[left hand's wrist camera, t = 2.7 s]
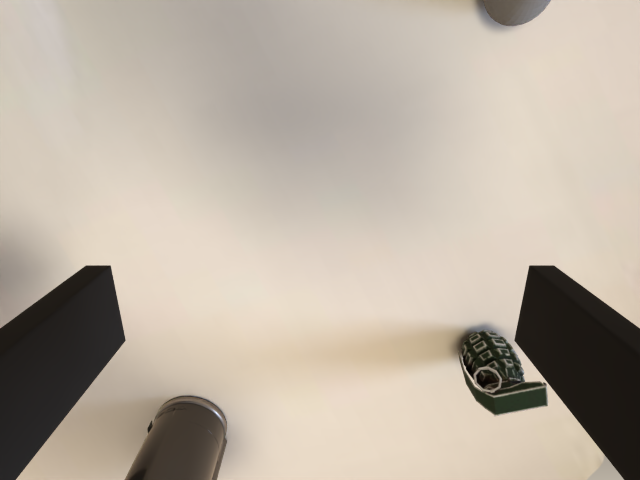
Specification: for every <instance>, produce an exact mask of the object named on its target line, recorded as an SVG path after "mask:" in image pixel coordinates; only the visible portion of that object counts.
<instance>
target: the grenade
mask: <svg viewBox="0 0 640 480" xmlns="http://www.w3.org/2000/svg"><path fill="white" fill-rule="evenodd" d="M458 353H459V351H458ZM462 356H463V362H464V365H465V366H466V370H467V371H468V373H469V374H470V376H471V377H472V378H473V380H474V381H475V384H476V385H477V386H478V387H479V388H480V389H481V390H482V391H481V390H480V389H478V388H477V387H475V386H474V385H473V383H472V381H471V380H470V378H469V376H468V375H467V373H466V372H465V370H464V367H463V364H462V360H461V357H460V354H459V359H460V363H461V367H462V370H463V374H464V377H465V381H466V384H467V386H468V388H469V389H470V391H471V393H472V394H473V396H474V398H475V399H476V401H477V402H478V403H479V404H480V405H482V406H483V407H484V408H485V409H487V410H488V411H489V412H491V413H492V414H494V416H499V415H504V414H509V413H514V412H519V411H525V410H530V409H535V408H540V407H545V406H548V397H547V384H546V383H544V382H543V383H542V382H525V379H524V376H523V375H524V371H523V368H522V367H521V362H520V360H519V358H518V355H517V354H516V352H515V351H514V349H513V348H512V346H511V345H510V344H509V343H508V342H507V340H506V339H504V338H503V337H500V336H499V335H498V334H496V333H493V332H492V331H487V330H483V331H481V332H479V333H477V332H475V333H473V334H471V335H470V336H469V339H467V340H466V341H464V343H463V346H462Z"/></svg>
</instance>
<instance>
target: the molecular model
mask: <svg viewBox="0 0 640 480" xmlns="http://www.w3.org/2000/svg"><path fill="white" fill-rule="evenodd" d="M550 1H551V0H484V4H485V8H486V10H487V12H488V14H489V15H490V17H491V18H492V19H494V20H495V21H496V22H498V23H500V24H503V25H507V26H516V25H521V24H524V23H527V22H529V21H531V20H532V19H534V18H535V17H537V16H538V15H539V14H540V13H541V12H542V11H543V10H544V9H545V8H546V6H547V5H548V4H549V2H550Z"/></svg>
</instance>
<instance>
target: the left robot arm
mask: <svg viewBox="0 0 640 480" xmlns="http://www.w3.org/2000/svg"><path fill="white" fill-rule="evenodd" d="M124 342H125V336H124V330H123V325H122V320H121V315H120V310H119V305H118V300H117V295H116V290H115V285H114V280H113V275H112V270H111V266H85V267H84V268H82V269H81V270H79V271H78V272H77V273H75V274H74V275H73V276H71V277H70V278H69V279H67V280H66V281H64V282H63V283H62V284H60V285H59V286H58V287H56V288H55V289H54V290H52V291H51V292H49V293H48V294H47V295H45V296H44V297H43V298H41V299H40V300H39V301H37V302H36V303H34V304H33V305H32V306H30V307H29V308H28V309H26V310H25V311H24V312H22V313H21V314H19V315H18V316H17V317H15V318H14V319H13V320H11V321H10V322H9V323H7V324H6V325H4V326H3V327H2V328H0V480H16V479H17V477H18V476H19V475H20V473H21V472H22V471H23V470H24V468H25V467H26V466H27V465H28V463H29V462H30V461H31V460H32V458H33V457H34V456H35V454H36V453H37V452H38V451H39V449H40V448H41V447H42V446H43V444H44V443H45V442H46V441H47V439H48V438H49V437H50V435H51V434H52V433H53V432H54V430H55V429H56V428H57V427H58V425H59V424H60V423H61V422H62V420H63V419H64V418H65V416H66V415H67V414H68V413H69V411H70V410H71V409H72V408H73V406H74V405H75V404H76V403H77V401H78V400H79V399H80V397H81V396H82V395H83V394H84V392H85V391H86V390H87V389H88V387H89V386H90V385H91V384H92V382H93V381H94V380H95V378H96V377H97V376H98V375H99V373H100V372H101V371H102V370H103V368H104V367H105V366H106V365H107V363H108V362H109V361H110V359H111V358H112V357H113V356H114V354H115V353H116V352H117V351H118V349H119V348H120V347H121V346H122V344H123V343H124ZM515 342H516V343H517V344H518V346H519V347H520V348H521V349H522V351H523V352H524V353H525V354H526V356H527V357H528V358H529V359H530V361H531V362H532V363H533V365H534V366H535V367H536V368H537V370H538V371H539V372H540V373H541V375H542V376H543V377H544V378H545V380H546V381H547V382H548V384H549V385H550V386H551V387H552V389H553V390H554V391H555V392H556V394H557V395H558V396H559V397H560V399H561V400H562V401H563V403H564V404H565V405H566V406H567V408H568V409H569V410H570V411H571V413H572V414H573V415H574V416H575V418H576V419H577V420H578V422H579V423H580V424H581V425H582V427H583V428H584V429H585V430H586V432H587V433H588V434H589V435H590V437H591V438H592V439H593V441H594V442H595V443H596V444H597V446H598V447H599V448H600V449H601V451H602V452H603V453H604V454H605V456H606V457H607V458H608V460H609V461H610V462H611V463H612V465H613V466H614V467H615V468H616V470H617V471H618V472H619V473H620V475H621V476H622V477H623V479H624V480H640V328H638V327H637V326H636V325H634V324H633V323H631V322H630V321H629V320H627V319H626V318H625V317H623V316H622V315H621V314H619V313H618V312H616V311H615V310H614V309H612V308H611V307H610V306H608V305H607V304H606V303H604V302H603V301H601V300H600V299H599V298H597V297H596V296H595V295H593V294H592V293H591V292H589V291H588V290H586V289H585V288H584V287H582V286H581V285H580V284H578V283H577V282H576V281H574V280H573V279H571V278H570V277H569V276H567V275H566V274H565V273H563V272H562V271H561V270H559V269H558V268H556V267H555V266H529V270H528V275H527V280H526V285H525V290H524V295H523V300H522V305H521V310H520V315H519V320H518V325H517V330H516V335H515Z"/></svg>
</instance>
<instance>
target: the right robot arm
mask: <svg viewBox="0 0 640 480" xmlns="http://www.w3.org/2000/svg"><path fill="white" fill-rule="evenodd" d="M226 431H227V423H226V419H225V417H224V415H223V414H222V412H221V411H220V410H219V409H218V408H217V407H216V406H215V405H213V404H212V403H210V402H208V401H206V400H204V399H201V398H196V397H179V398H175V399H172V400H170V401H168V402H167V403H165V404H164V405H163V406H162V407H161V408H160V410H159V412H158V414H157V415H156V418H155V420H154V423H153V425H152V421H151V423H150V425H149V427H148V435H147V437H146V439H145V441H144V443H143V445H142V447H141V449H140V451H139V453H138V454H137V456H136V458H135V460H134V462H133V464H132V466H131V468H130V470H129V472H128V474H127V476H126V478H125V480H217V477H218V473H219V469H220V466H221V462H222V458H223V454H224V451H225V447H226V443H227V441H226V439H225V435H226Z"/></svg>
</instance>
